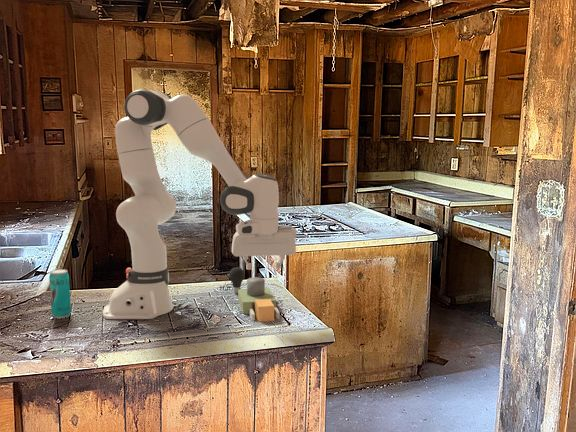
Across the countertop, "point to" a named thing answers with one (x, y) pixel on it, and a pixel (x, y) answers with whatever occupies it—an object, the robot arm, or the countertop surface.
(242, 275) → the light bulb
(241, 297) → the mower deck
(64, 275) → the beverage can
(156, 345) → the countertop surface
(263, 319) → the tall orange cuboid
